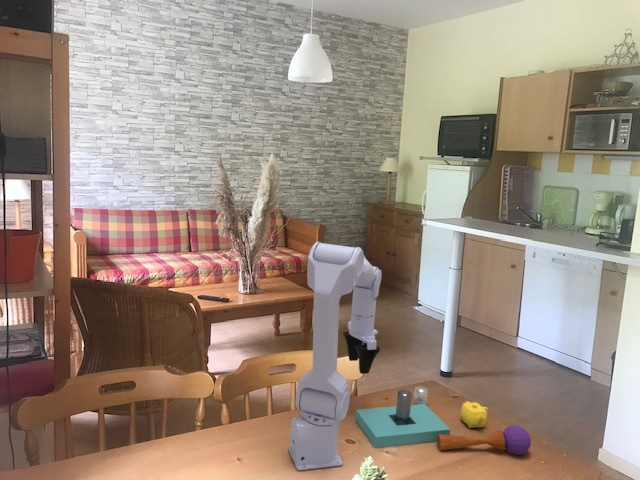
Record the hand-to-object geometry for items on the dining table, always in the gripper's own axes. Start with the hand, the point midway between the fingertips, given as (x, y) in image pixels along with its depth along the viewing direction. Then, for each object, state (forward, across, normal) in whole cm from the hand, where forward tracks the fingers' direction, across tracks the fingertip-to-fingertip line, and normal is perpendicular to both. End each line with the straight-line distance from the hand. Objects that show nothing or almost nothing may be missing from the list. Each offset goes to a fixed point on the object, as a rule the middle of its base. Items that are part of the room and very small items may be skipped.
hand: (358, 366), depth 130 cm
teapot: (+10, -14, -25) cm, 31 cm away
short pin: (+10, -3, -16) cm, 19 cm away
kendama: (+10, -24, -21) cm, 34 cm away
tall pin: (+10, -13, -6) cm, 18 cm away
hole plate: (+10, -13, -6) cm, 18 cm away
